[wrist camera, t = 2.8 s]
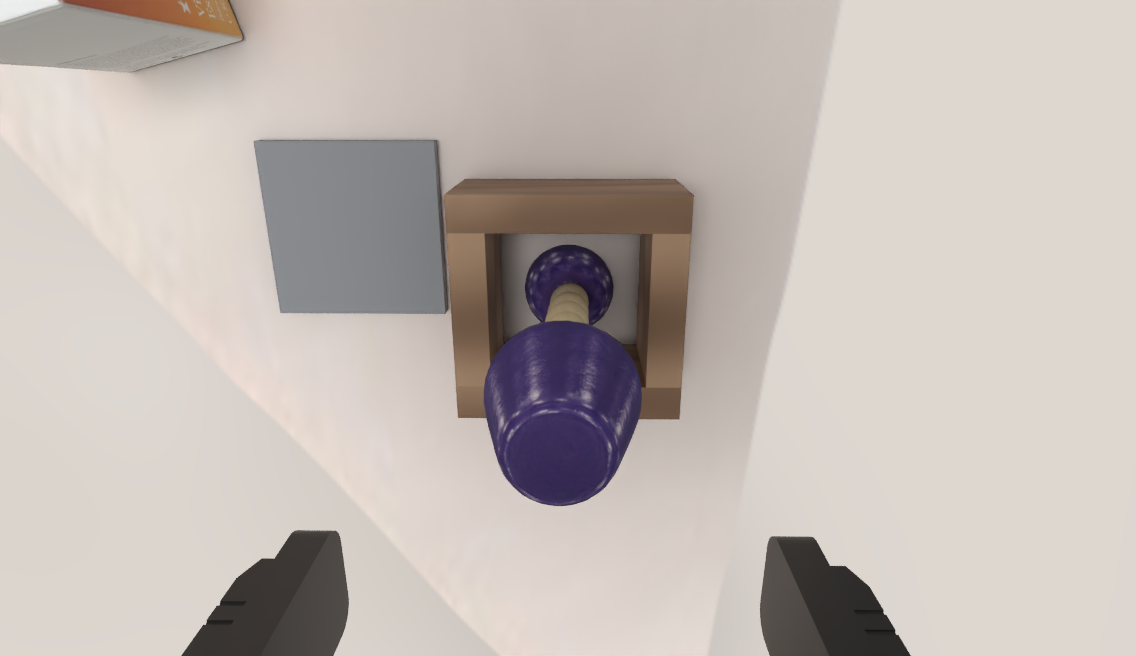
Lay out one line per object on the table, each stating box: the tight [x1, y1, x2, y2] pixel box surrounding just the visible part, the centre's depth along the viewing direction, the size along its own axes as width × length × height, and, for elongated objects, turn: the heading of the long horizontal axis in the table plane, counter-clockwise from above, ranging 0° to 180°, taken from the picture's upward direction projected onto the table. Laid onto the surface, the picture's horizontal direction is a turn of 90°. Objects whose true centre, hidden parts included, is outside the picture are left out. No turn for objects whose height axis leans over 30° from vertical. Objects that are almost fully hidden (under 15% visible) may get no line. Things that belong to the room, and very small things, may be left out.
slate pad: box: [254, 140, 448, 314], centre depth 30 cm, size 8×8×1 cm
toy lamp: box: [484, 245, 642, 506], centre depth 24 cm, size 5×5×17 cm
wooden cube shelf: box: [444, 179, 694, 419], centre depth 29 cm, size 10×10×5 cm
